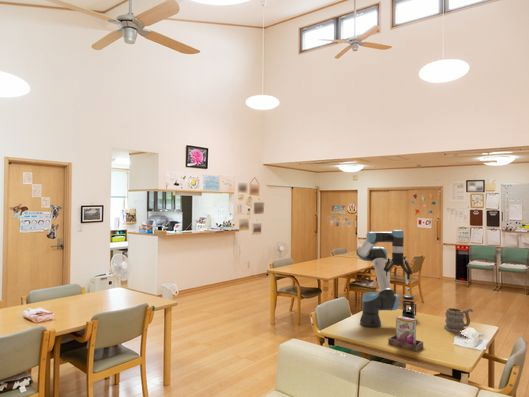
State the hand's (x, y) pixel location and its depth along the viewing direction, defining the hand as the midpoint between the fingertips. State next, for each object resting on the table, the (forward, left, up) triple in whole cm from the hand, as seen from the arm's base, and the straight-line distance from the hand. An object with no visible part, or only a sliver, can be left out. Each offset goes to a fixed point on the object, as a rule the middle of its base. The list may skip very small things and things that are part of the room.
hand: (397, 282), depth 266 cm
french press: (-10, +40, -35) cm, 54 cm away
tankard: (+28, +39, -35) cm, 59 cm away
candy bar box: (+15, -20, -34) cm, 42 cm away
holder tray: (+15, -20, -35) cm, 43 cm away
